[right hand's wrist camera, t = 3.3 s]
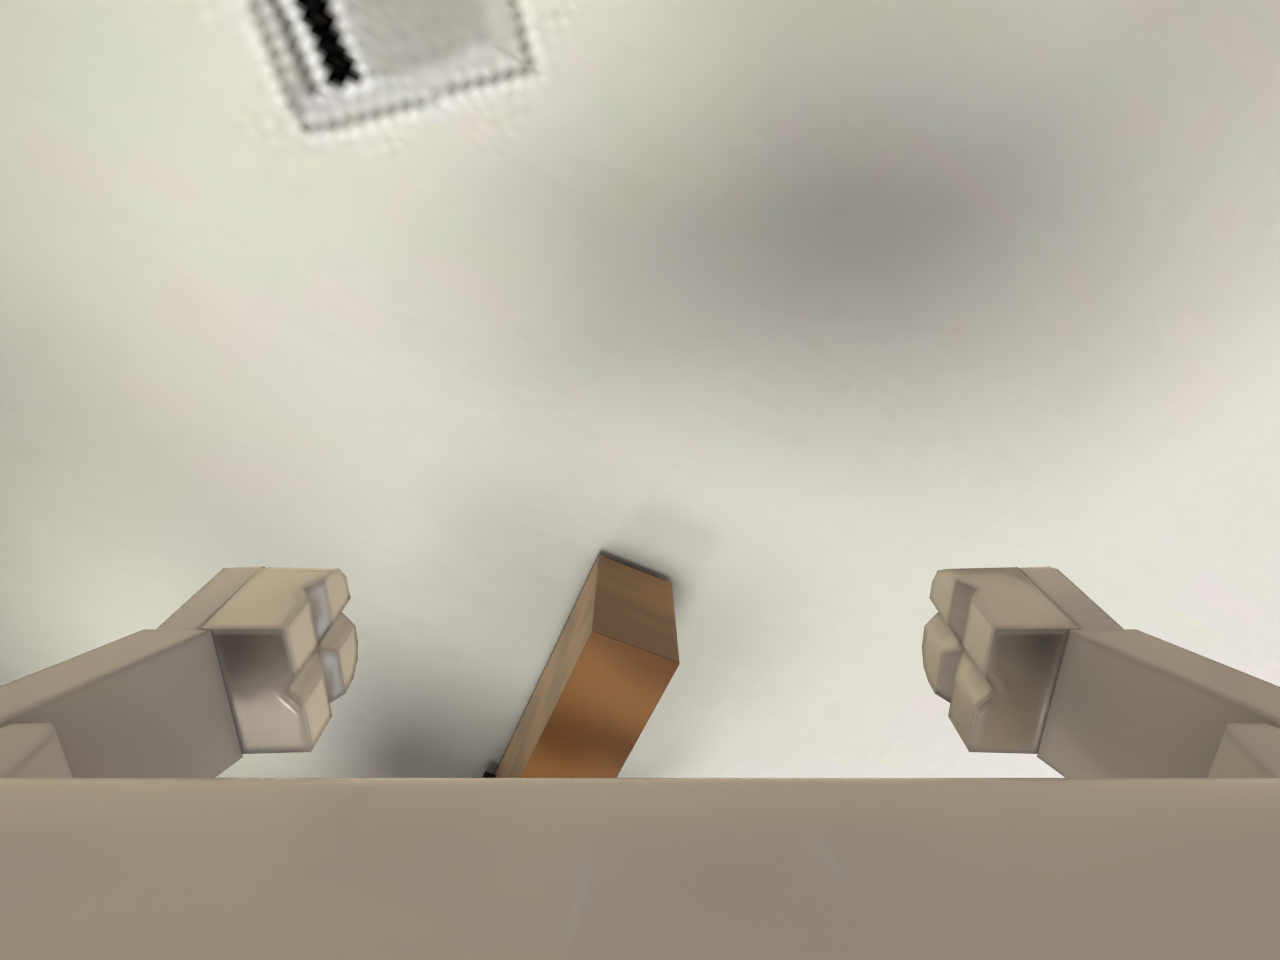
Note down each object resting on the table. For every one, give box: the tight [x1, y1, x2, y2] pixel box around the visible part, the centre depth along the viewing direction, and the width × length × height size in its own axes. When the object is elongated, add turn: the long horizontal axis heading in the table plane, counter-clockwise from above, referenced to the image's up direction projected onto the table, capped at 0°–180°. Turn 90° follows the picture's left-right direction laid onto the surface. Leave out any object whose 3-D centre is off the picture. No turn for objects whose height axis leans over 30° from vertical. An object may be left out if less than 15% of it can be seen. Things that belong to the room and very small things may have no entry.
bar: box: [495, 556, 679, 778], centre depth 44 cm, size 23×5×8 cm, turn 156°
